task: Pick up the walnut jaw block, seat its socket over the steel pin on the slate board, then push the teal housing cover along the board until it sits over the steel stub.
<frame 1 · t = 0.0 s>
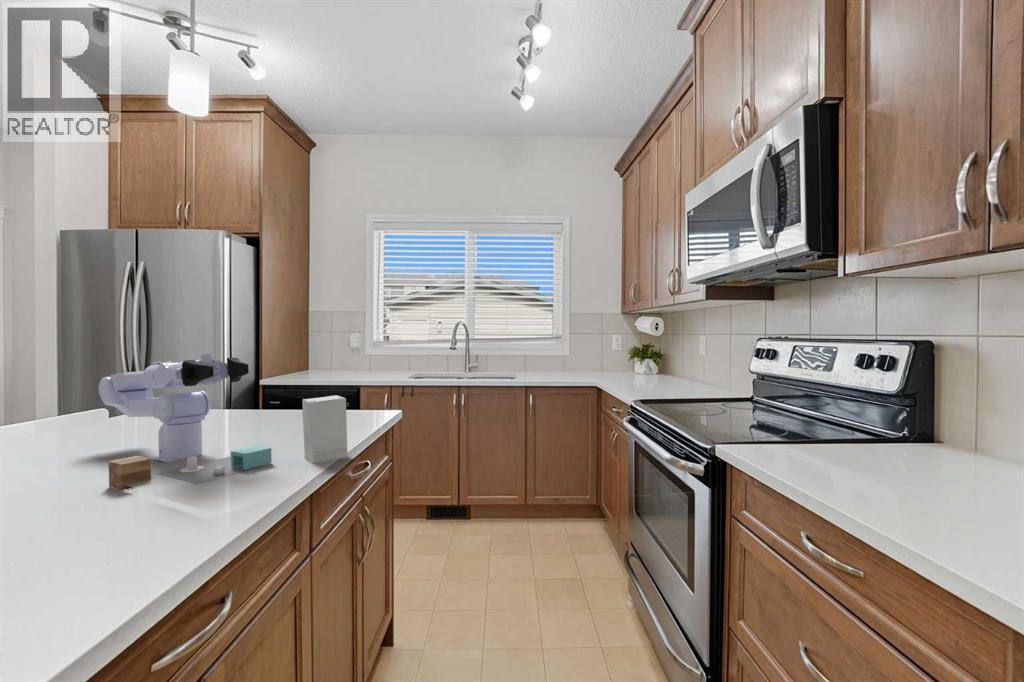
hand: (229, 369, 108), 22 cm above the counter, tool horizontal, fingers open, 7 cm apart
skincare box: (325, 463, 114), on the counter
jaw block: (130, 485, 98), on the counter
housing cover: (251, 457, 108), point 3 cm above the counter, slide at 0.0 cm
slate board: (216, 473, 106), on the counter
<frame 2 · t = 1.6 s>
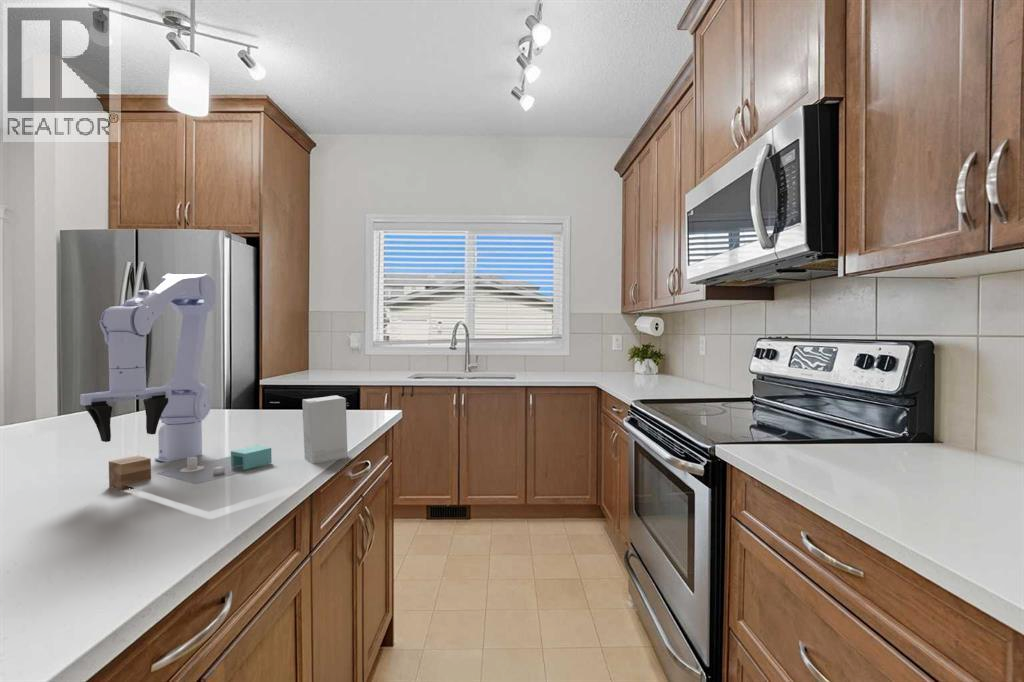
hand: (129, 437, 98), 9 cm above the counter, tool pointing down, fingers open, 7 cm apart
nothing on the counter moved.
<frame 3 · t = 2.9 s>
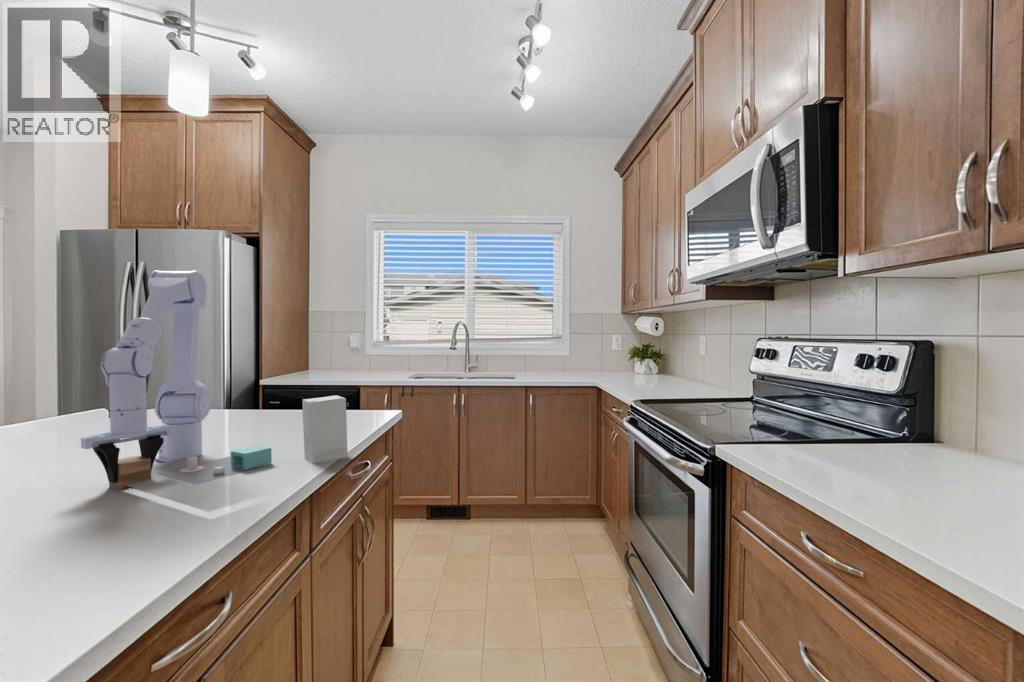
hand: (130, 478, 98), 1 cm above the counter, tool pointing down, fingers closed on jaw block, 5 cm apart
jaw block: (130, 485, 98), on the counter, touching gripper
everything else where it was.
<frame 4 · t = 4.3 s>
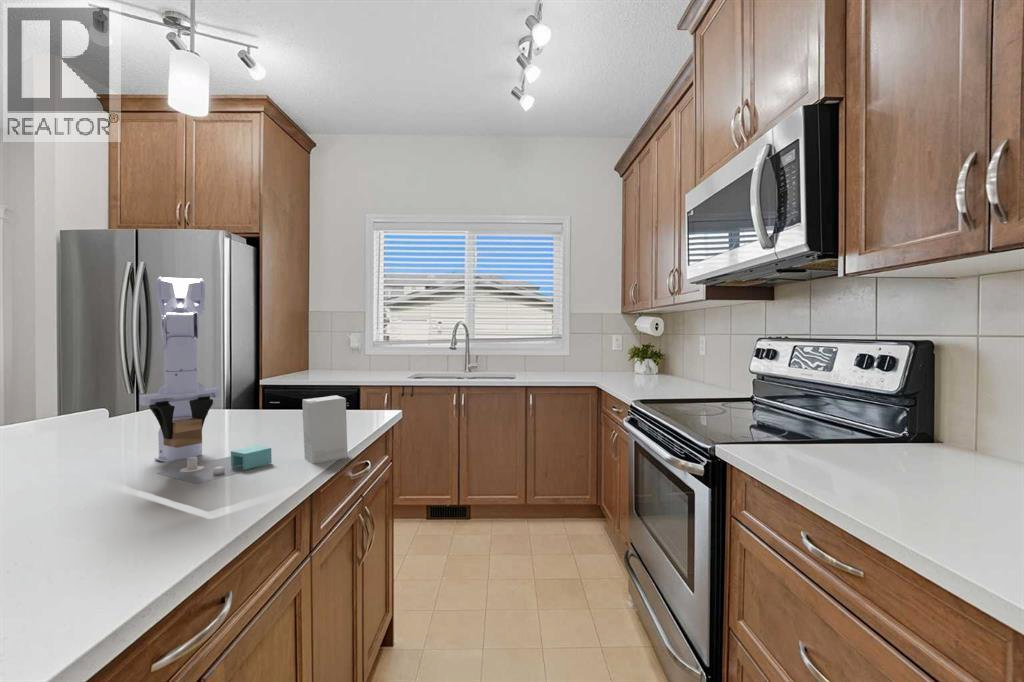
hand: (182, 435, 104), 8 cm above the counter, tool pointing down, fingers closed on jaw block, 5 cm apart
jaw block: (183, 444, 104), point 7 cm above the counter, touching gripper
everything else where it was.
when the fingers open (3 cm above the counter, at t = 5.9 s): jaw block stays where it is, resting on slate board.
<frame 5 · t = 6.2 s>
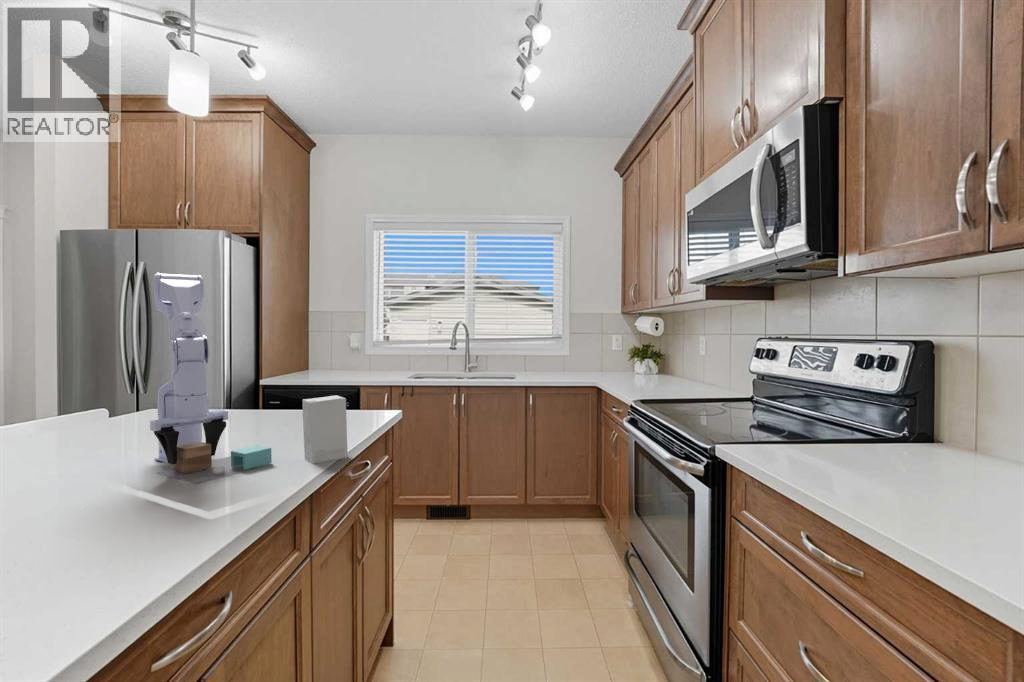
hand: (192, 459, 105), 3 cm above the counter, tool pointing down, fingers open, 7 cm apart
jaw block: (192, 468, 105), point 1 cm above the counter, touching slate board
everything else where it was.
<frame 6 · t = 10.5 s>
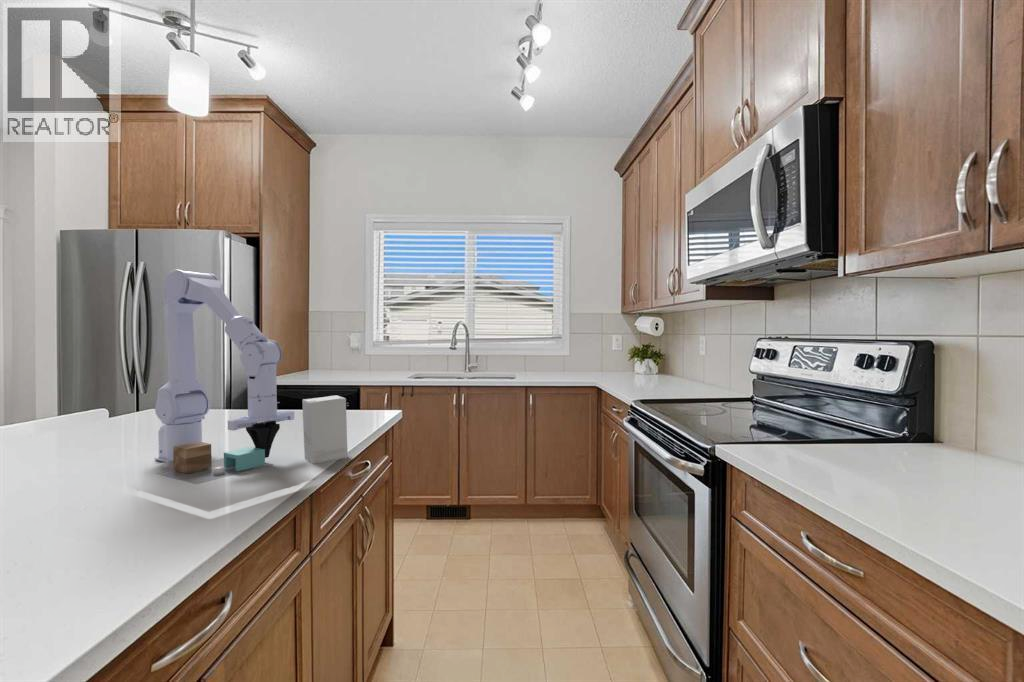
hand: (263, 457, 111), 2 cm above the counter, tool pointing down, fingers closed
housing cover: (244, 458, 107), point 3 cm above the counter, slide at 1.5 cm, touching gripper
everything else where it was.
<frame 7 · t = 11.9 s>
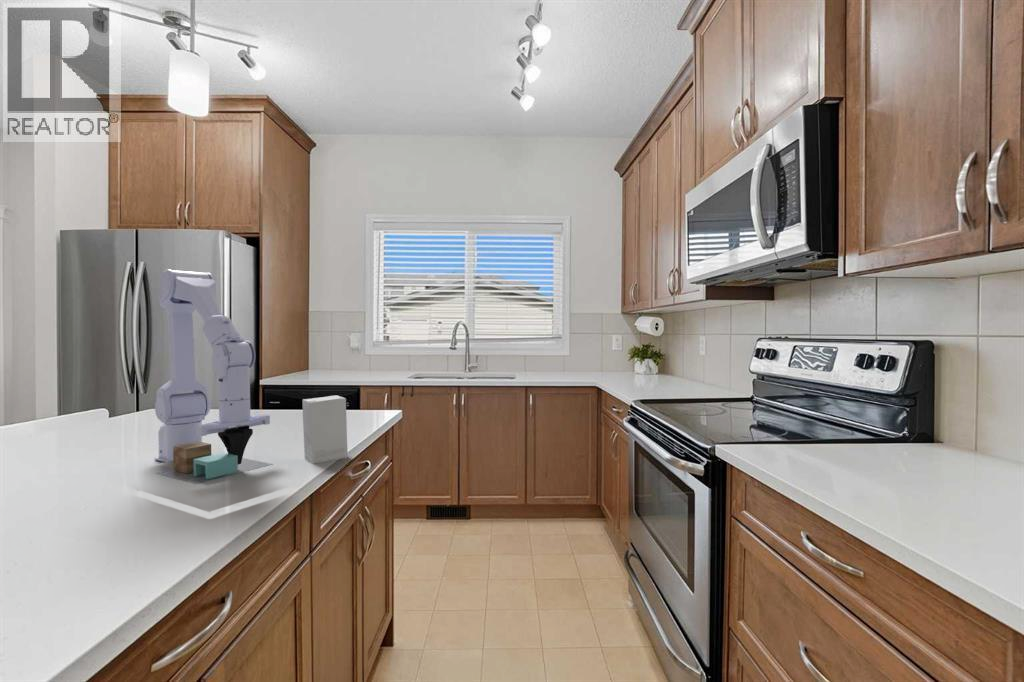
hand: (235, 463, 105), 2 cm above the counter, tool pointing down, fingers closed
housing cover: (215, 465, 102), point 3 cm above the counter, slide at 7.6 cm, touching gripper
everything else where it was.
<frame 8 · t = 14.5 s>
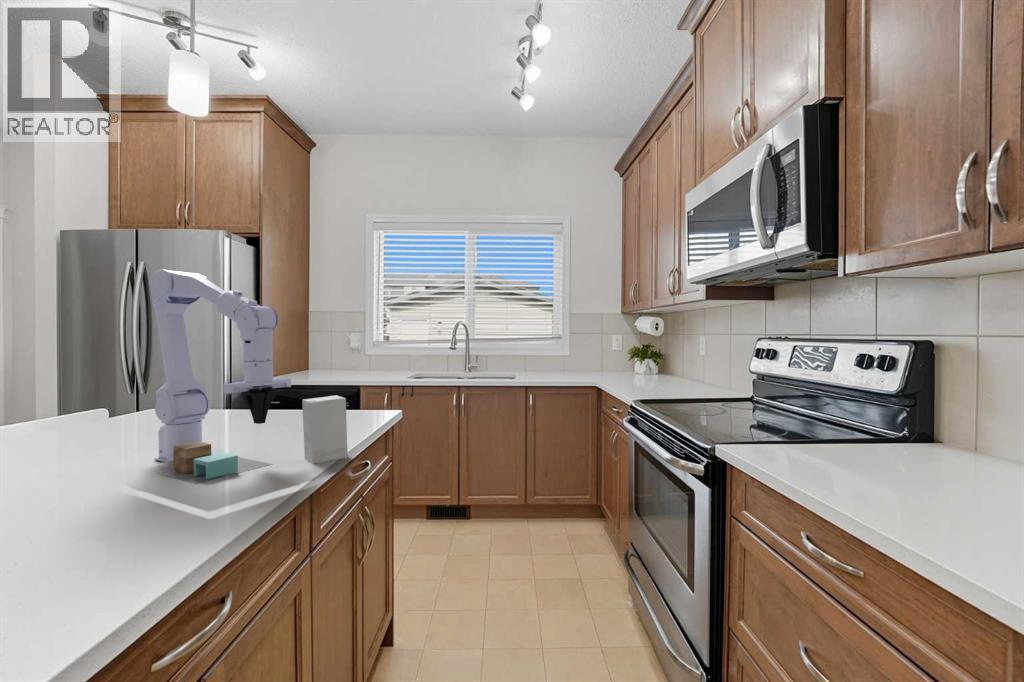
hand: (259, 423, 110), 10 cm above the counter, tool pointing down, fingers closed
housing cover: (216, 465, 102), point 3 cm above the counter, slide at 7.5 cm
everything else where it was.
at the end: jaw block 0.1 cm from the target spot, point 1.2 cm above the counter; jaw block tilted 0°; housing cover slide at 7.5 cm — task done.
